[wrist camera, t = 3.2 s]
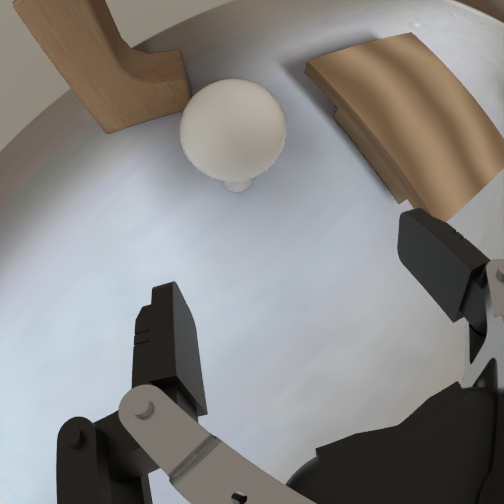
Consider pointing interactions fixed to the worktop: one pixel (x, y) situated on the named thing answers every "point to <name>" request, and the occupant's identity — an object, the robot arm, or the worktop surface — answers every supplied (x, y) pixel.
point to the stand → (412, 121)
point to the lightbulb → (233, 131)
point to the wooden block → (106, 63)
